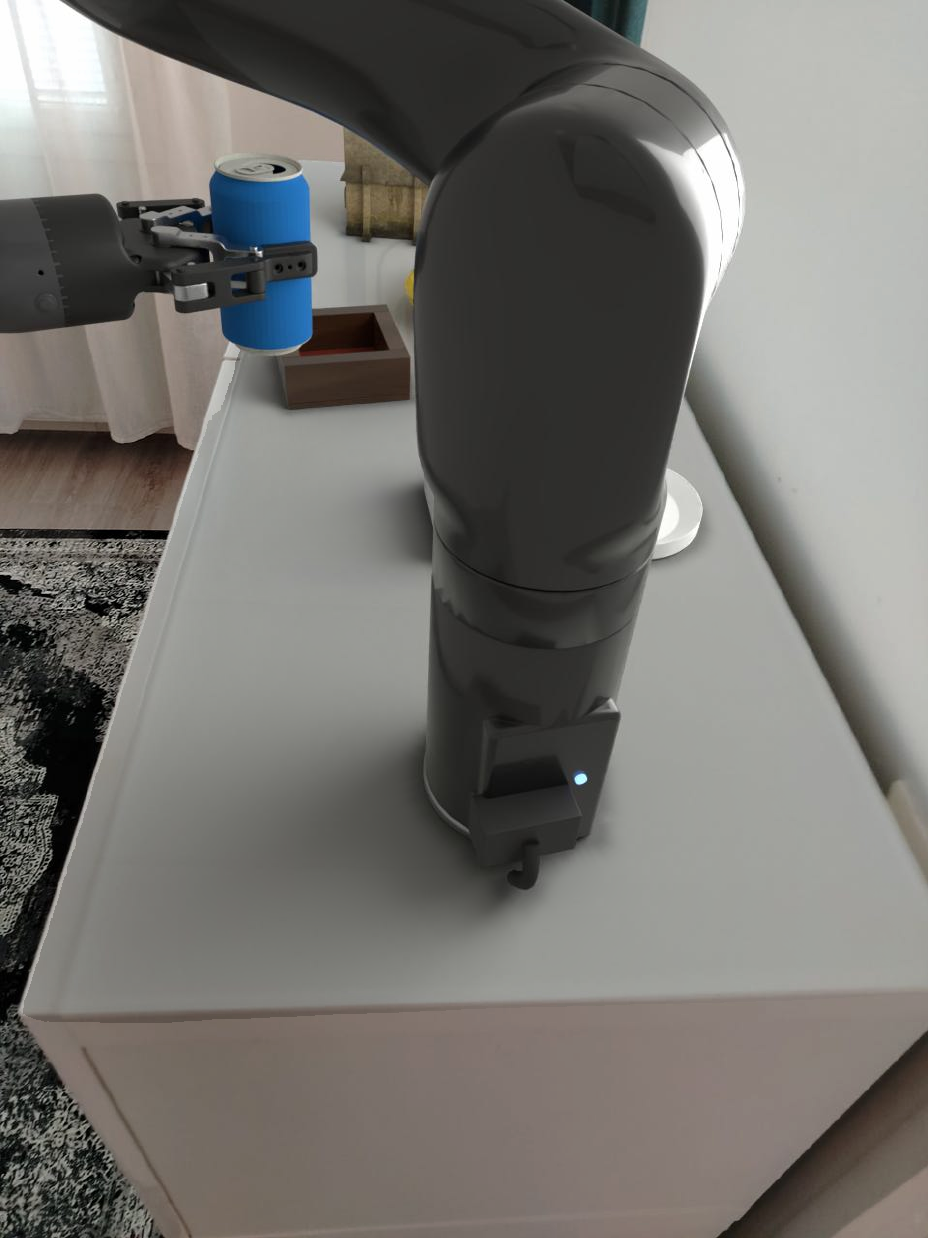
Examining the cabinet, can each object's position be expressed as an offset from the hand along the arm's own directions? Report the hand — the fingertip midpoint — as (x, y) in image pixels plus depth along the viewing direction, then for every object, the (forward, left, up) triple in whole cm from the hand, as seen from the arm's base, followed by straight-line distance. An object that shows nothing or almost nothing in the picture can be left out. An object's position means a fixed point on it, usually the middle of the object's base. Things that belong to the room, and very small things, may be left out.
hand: (294, 240), depth 63 cm
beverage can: (-1, +3, -7) cm, 8 cm away
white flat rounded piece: (-15, -17, -16) cm, 27 cm away
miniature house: (+46, -18, -16) cm, 52 cm away
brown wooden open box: (+9, -4, -15) cm, 19 cm away
